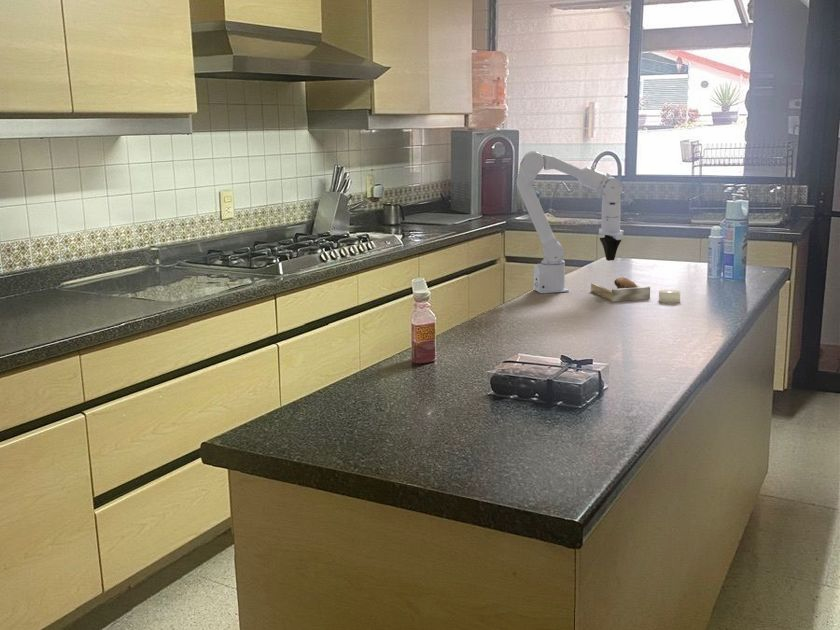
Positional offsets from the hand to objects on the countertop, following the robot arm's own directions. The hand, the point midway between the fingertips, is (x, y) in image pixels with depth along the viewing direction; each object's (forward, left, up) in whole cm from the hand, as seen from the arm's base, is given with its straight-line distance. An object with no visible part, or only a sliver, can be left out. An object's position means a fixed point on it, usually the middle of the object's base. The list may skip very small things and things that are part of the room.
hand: (610, 260), depth 267 cm
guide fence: (0, -8, -9) cm, 12 cm away
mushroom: (0, -12, -10) cm, 15 cm away
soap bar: (+9, -22, -10) cm, 26 cm away
